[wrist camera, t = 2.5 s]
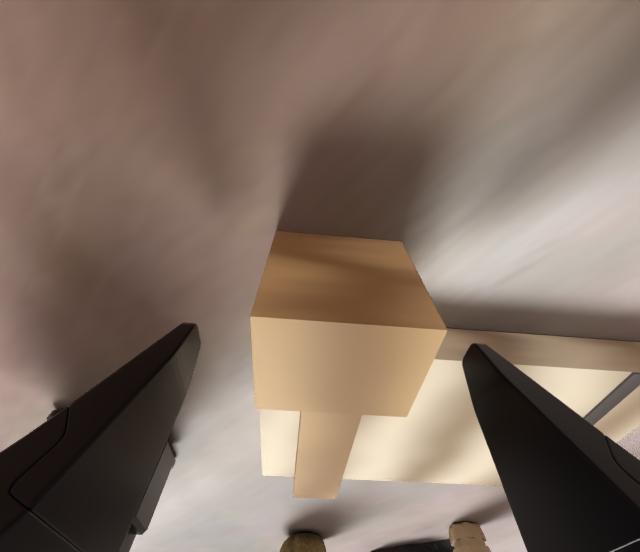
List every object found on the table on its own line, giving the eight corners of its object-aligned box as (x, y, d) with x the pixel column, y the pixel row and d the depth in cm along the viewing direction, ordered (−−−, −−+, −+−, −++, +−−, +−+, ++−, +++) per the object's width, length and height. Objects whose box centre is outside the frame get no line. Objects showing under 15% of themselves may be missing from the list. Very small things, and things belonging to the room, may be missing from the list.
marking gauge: (274, 397, 17) (260, 496, 13) (276, 230, 11) (250, 316, 7) (356, 401, 18) (367, 499, 13) (401, 241, 11) (447, 330, 7)
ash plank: (267, 443, 20) (261, 477, 18) (264, 315, 14) (256, 349, 12) (538, 456, 21) (557, 489, 19) (659, 343, 15) (705, 378, 13)
